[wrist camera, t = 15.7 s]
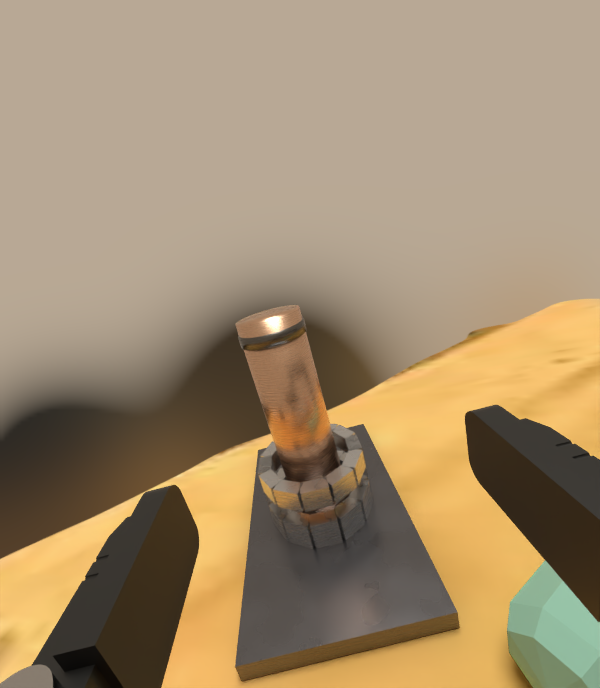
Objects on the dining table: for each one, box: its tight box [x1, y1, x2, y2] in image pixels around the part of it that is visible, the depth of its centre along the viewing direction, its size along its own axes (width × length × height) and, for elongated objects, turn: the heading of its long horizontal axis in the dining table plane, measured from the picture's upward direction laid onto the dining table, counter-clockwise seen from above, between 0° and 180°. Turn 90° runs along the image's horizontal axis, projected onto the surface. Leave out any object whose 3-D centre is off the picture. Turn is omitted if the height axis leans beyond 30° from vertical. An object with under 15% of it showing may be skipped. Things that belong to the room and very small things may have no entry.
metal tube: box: [236, 305, 349, 515], centre depth 23 cm, size 5×5×16 cm
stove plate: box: [235, 424, 459, 681], centre depth 25 cm, size 12×19×6 cm, turn 4°
